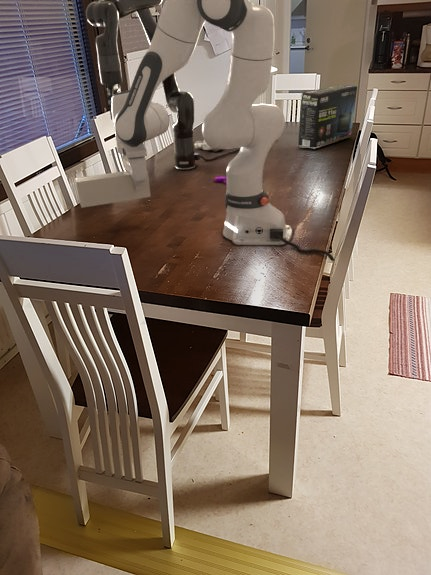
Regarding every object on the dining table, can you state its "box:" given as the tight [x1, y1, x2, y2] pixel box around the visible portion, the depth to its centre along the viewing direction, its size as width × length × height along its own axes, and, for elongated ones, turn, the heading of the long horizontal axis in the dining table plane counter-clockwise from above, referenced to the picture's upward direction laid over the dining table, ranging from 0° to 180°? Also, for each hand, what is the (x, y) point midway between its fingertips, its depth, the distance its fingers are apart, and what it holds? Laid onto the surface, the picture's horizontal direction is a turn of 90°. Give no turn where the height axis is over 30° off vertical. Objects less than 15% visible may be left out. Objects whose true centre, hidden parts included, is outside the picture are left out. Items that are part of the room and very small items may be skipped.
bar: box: [74, 169, 152, 209], centre depth 150 cm, size 23×4×8 cm, turn 111°
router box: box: [297, 84, 358, 151], centre depth 238 cm, size 36×11×27 cm, turn 134°
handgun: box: [214, 176, 226, 184], centre depth 189 cm, size 21×8×2 cm, turn 11°
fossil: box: [194, 139, 221, 153], centre depth 243 cm, size 18×11×15 cm
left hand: (116, 117), depth 169 cm, fingers open, 8 cm apart
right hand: (136, 187), depth 152 cm, fingers closed on bar, 4 cm apart
